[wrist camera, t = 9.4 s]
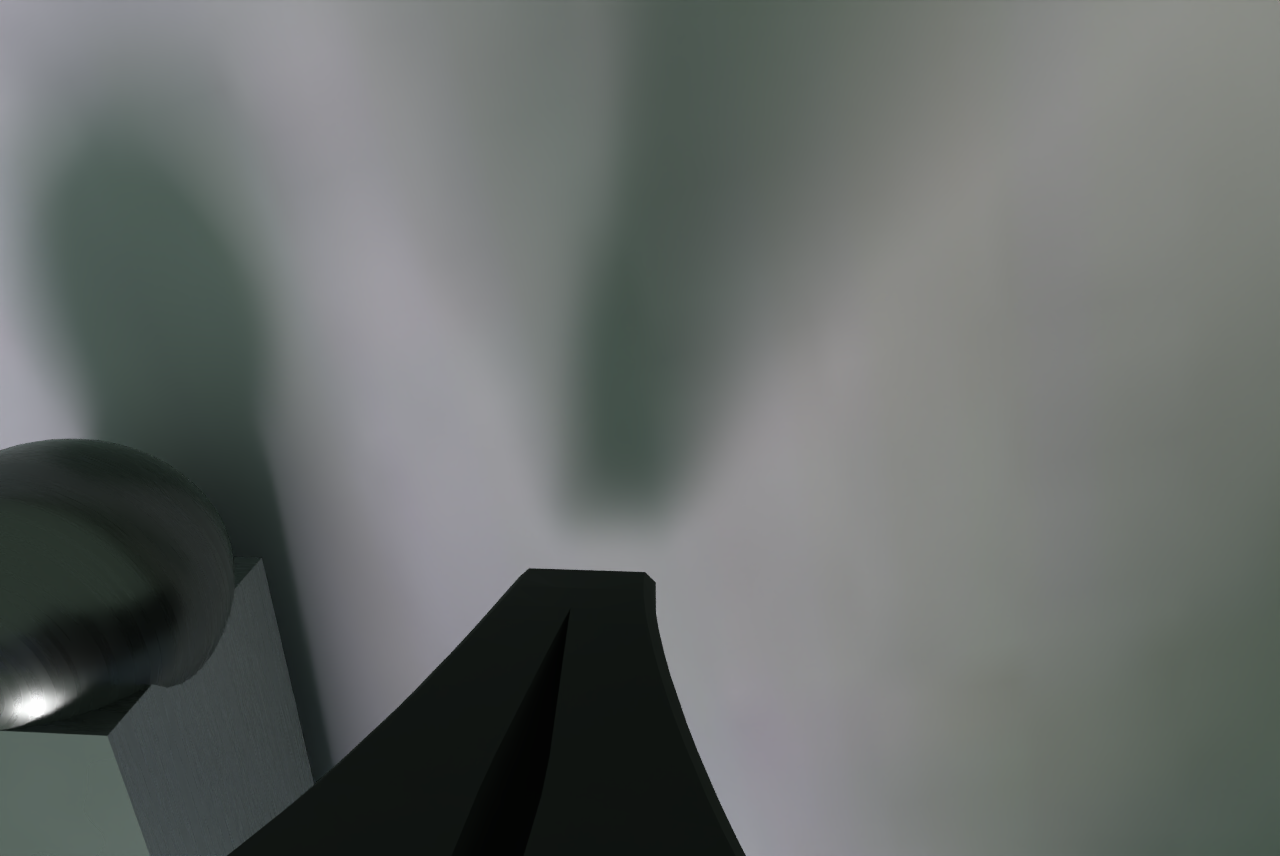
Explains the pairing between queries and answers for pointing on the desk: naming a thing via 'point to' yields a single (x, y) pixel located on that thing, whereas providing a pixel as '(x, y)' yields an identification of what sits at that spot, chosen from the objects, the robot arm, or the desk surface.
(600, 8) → the desk surface
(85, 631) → the sliding jaw
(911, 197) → the desk surface
